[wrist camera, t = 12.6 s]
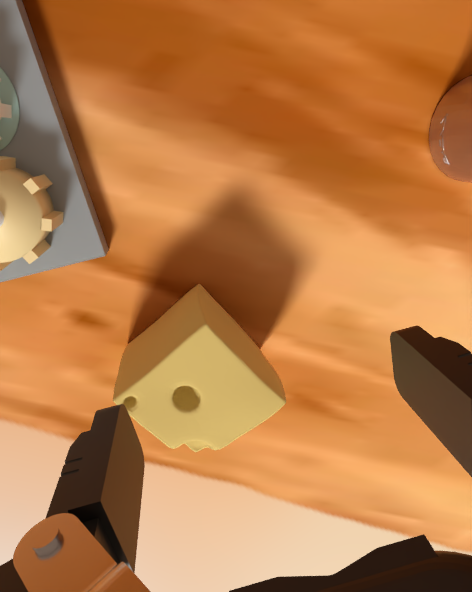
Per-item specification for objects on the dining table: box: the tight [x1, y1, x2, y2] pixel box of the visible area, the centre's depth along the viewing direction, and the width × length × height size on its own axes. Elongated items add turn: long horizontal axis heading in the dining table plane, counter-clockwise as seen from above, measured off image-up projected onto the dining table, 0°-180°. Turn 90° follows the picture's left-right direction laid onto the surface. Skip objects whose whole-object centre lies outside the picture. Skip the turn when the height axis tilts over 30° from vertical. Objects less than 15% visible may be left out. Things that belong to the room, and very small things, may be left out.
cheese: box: [113, 284, 286, 452], centre depth 38 cm, size 10×11×10 cm
